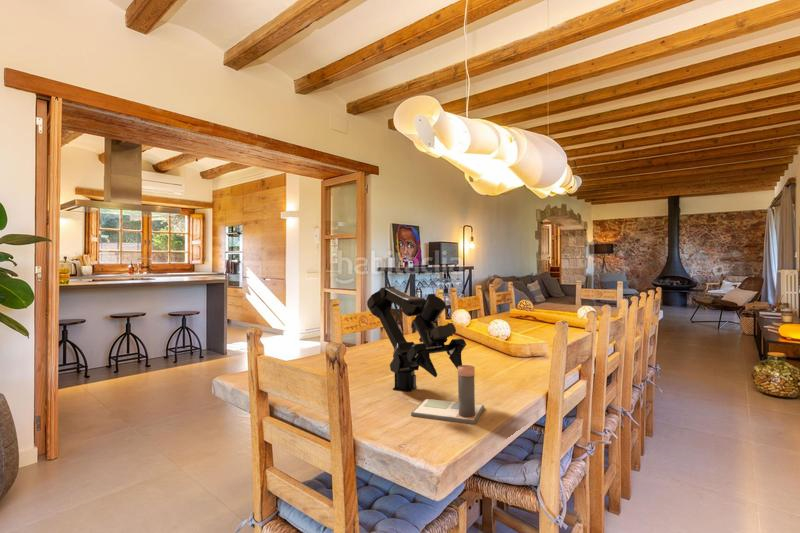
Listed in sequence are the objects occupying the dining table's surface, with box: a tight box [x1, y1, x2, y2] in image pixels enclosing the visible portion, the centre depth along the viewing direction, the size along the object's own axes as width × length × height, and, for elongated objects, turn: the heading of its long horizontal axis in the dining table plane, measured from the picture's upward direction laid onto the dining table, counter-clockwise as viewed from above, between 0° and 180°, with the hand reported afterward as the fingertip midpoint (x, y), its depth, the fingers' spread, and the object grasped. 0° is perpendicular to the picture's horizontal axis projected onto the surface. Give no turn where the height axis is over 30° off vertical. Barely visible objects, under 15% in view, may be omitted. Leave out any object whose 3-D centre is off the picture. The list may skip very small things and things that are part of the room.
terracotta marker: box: [457, 364, 476, 417], centre depth 113 cm, size 5×5×13 cm
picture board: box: [410, 398, 485, 425], centre depth 118 cm, size 18×13×1 cm
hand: (449, 374), depth 120 cm, fingers open, 9 cm apart
